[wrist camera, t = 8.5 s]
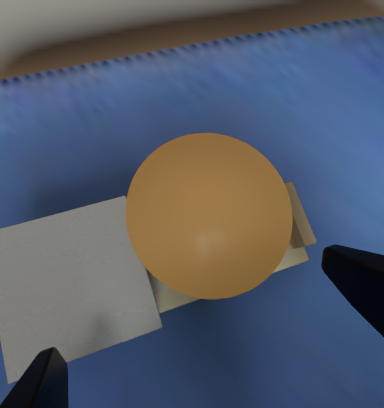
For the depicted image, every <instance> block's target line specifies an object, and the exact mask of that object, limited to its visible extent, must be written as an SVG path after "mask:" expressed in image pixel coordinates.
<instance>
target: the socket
mask: <svg viewBox="0 0 384 408" xmlns="http://www.w3.org/2000/svg"><path fill="white" fill-rule="evenodd" d="M125 210H126V197H125V196H121V197H118V198H114V199H110V200H106V201H103V202H99V203H95V204H91V205H88V206H84V207H80V208H76V209H73V210H69V211H65V212H62V213H58V214H54V215H50V216H47V217H43V218H39V219H35V220H32V221H28V222H24V223H20V224H17V225H13V226H9V227H5V228H2V229H0V341H1V346H2V352H3V358H4V363H5V369H6V374H7V380H8V384H10V383H12V382H15V381H18V380H19V379H20V377H21V376H22V375H23V373H24V372H25V371H26V369H27V368H28V367H29V365H30V364H31V362H32V361H33V360H34V358H35V357H36V356H37V354H38V353H39V352H40V351H42V350H45V349H47V348H50V347H56V348H57V350H58V351H59V353H60V354H61V355H62V357H63V358H64V360H65V361H66V363H67V362H70V361H72V360H75V359H78V358H81V357H83V356H86V355H89V354H92V353H94V352H97V351H100V350H103V349H105V348H108V347H111V346H113V345H116V344H119V343H122V342H124V341H127V340H130V339H133V338H135V337H138V336H141V335H143V334H146V333H149V332H152V331H154V330H157V329H160V328H162V322H161V317H160V312H159V308H158V305H157V301H156V298H155V294H154V293H153V292H152V288H151V284H150V281H149V277H148V274H147V270H146V267H145V266H144V265H143V263H142V262H141V261H140V259H139V258H138V256H137V254H136V252H135V250H134V248H133V246H132V244H131V241H130V238H129V235H128V231H127V226H126V215H125Z"/></svg>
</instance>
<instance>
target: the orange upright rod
mask: <svg viewBox="0 0 384 408" xmlns="http://www.w3.org/2000/svg"><path fill="white" fill-rule="evenodd" d="M125 215H126V226H127V231H128V235H129V238H130V241H131V244H132V246H133V248H134V250H135V252H136V254H137V256H138V258H139V259H140V261H141V262H142V263H143V265H144V266H145V267H146V270H147V274H148V277H149V281H150V284H151V288H152V292H153V293H154V292H157V291H159V290H162V289H165V288H168V287H169V288H171V289H173V290H175V291H177V292H180V293H182V294H184V295H188V296H191V297H195V298H202V299H223V298H230V297H233V296H237V295H240V294H243V293H245V292H247V291H250V290H251V289H253V288H255V287H256V286H258V285H259V284H261V283H262V282H263V281H264V280H266V279H267V278H268V277H269V276H270V275H271V274H272V273H273V272H274V270H275V269H276V268H277V267H278V265H279V264H280V262H281V261H282V259H283V257H284V255H285V253H286V251H287V248H288V245H289V242H290V238H291V232H292V221H293V217H292V207H291V201H290V197H289V194H288V191H287V188H286V186H285V184H284V182H283V180H282V178H281V176H280V175H279V173H278V171H277V170H276V169H275V167H274V166H273V165H272V164H271V162H270V161H269V160H268V159H267V158H266V157H265V156H264V155H263V154H261V153H260V152H259V151H258V150H256V149H255V148H253V147H252V146H250V145H248V144H247V143H245V142H243V141H241V140H238V139H236V138H233V137H230V136H227V135H222V134H216V133H195V134H189V135H185V136H181V137H178V138H175V139H173V140H171V141H169V142H167V143H165V144H163V145H162V146H160V147H159V148H157V149H156V150H155V151H154V152H152V153H151V154H150V155H149V156H148V157H147V158H146V159H145V160H144V162H143V163H142V164H141V166H140V167H139V168H138V170H137V172H136V173H135V175H134V177H133V179H132V182H131V184H130V187H129V190H128V195H127V199H126V210H125Z"/></svg>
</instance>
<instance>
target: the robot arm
mask: <svg viewBox="0 0 384 408" xmlns="http://www.w3.org/2000/svg"><path fill="white" fill-rule="evenodd" d="M321 265H322V269H323V271H324V273H325V274H326V275H327V276H328V278H329V279H330V280H331V281H332V282H333V284H334V285H335V286H336V287H337V289H338V290H339V291H340V292H341V293H342V295H343V296H344V297H345V298H346V299H347V301H348V302H349V303H350V304H351V305H352V306H353V307H354V308H355V309H356V310H357V311H358V312H359V313H360V314H361V315H362V316H363V317H364V318H365V319H366V320H367V321H368V322H369V323H370V324H371V325H372V326H373V327H374V328H375V329H376V330H377V331H378V332H379V333H380V334H381V335H382V336H383V337H384V255H380V254H376V253H371V252H367V251H363V250H358V249H354V248H349V247H345V246H340V245H331V246H328V247H326V248H324V250H323V256H322V264H321ZM0 408H69V407H68V368H67V364H66V361H65V360H64V358H63V357H62V355H61V354H60V353H59V351H58V350H57V348H56V347H50V348H47V349H45V350H42V351H40V352H39V353H38V354H37V356H36V357H35V358H34V360H33V361H32V362H31V364H30V365H29V367H28V368H27V369H26V371H25V372H24V373H23V375H22V376H21V377H20V379H19V380H18V382H17V383H16V384H15V386H14V387H13V388H12V390H11V391H10V392H9V394H8V395H7V397H6V398H5V399H4V401H3V402H2V403H1V405H0Z"/></svg>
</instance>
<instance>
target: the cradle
mask: <svg viewBox="0 0 384 408" xmlns="http://www.w3.org/2000/svg"><path fill="white" fill-rule="evenodd" d="M284 184H285V186H286V188H287V191H288V194H289V197H290V201H291V207H292V217H293V221H292V232H291V238H290V242H289V245H288V248H287V251H286V253H285V255H284V257H283V259H282V261H281V262H280V264H279V265H278V267H277V268H276V269H275V270H274V272H277V271H280V270H283V269H286V268H289V267H291V266H294V265H297V264H300V263H303V262H305V261H308V260H309V258H308V255H307V253H306V250H305V248H304V247H306V246H308V245H311V244H314V243H317V241H316V239H315V236H314V234H313V231H312V229H311V226H310V224H309V221H308V219H307V216H306V214H305V212H304V209H303V207H302V204H301V202H300V199H299V197H298V194H297V192H296V189H295V187H294V184H293V182H292V181H291V182H287V183H284ZM274 272H273V273H274ZM154 294H155V298H156V301H157V305H158V308H159V312H160V313H162V312H165V311H168V310H170V309H173V308H176V307H179V306H182V305H184V304H187V303H190V302H193V301H196V300H198V299H201V298H195V297H191V296H188V295H184V294H182V293H180V292H177V291H175V290H173V289H171V288H169V287H168V288H165V289H162V290H159V291H157V292H154Z"/></svg>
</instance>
